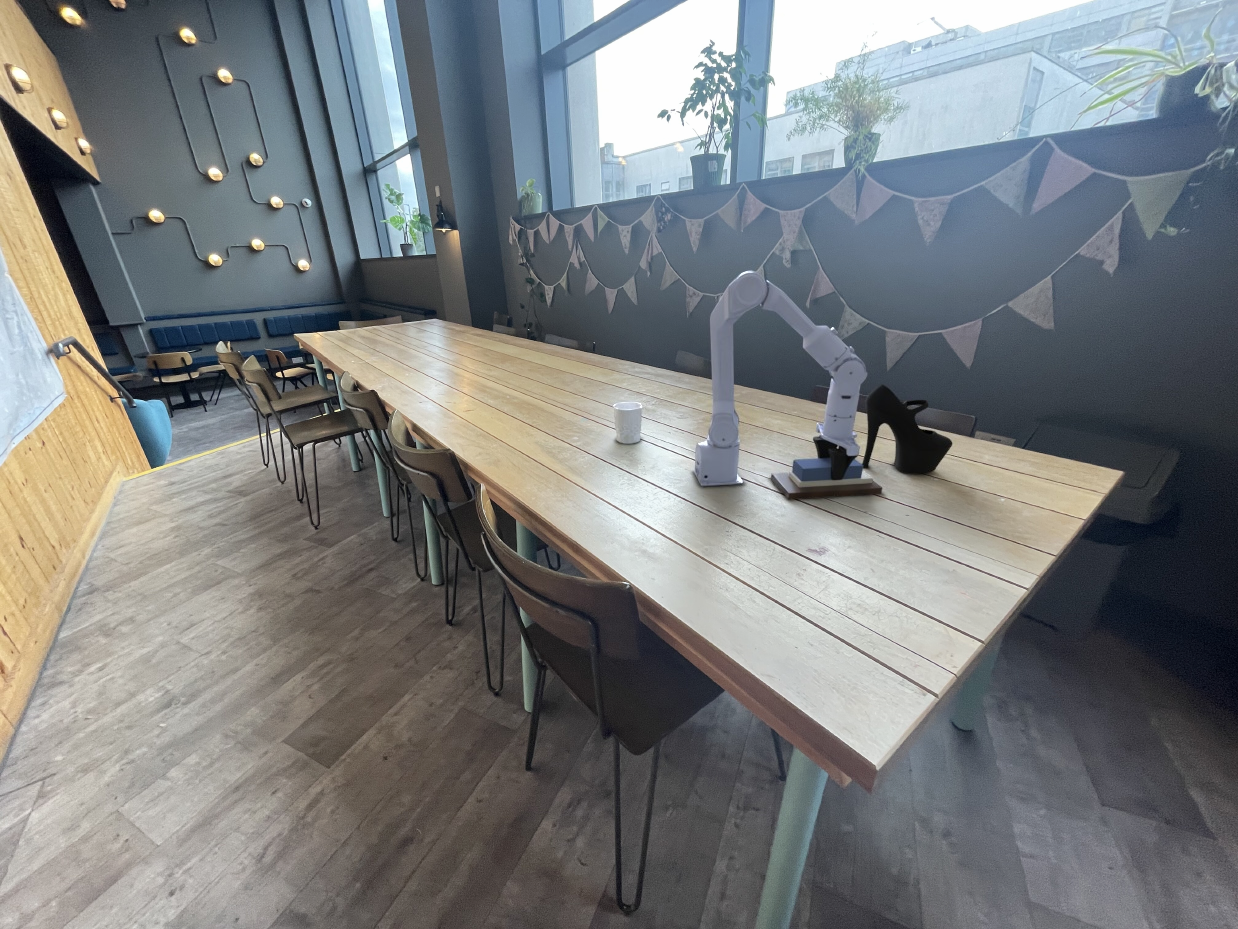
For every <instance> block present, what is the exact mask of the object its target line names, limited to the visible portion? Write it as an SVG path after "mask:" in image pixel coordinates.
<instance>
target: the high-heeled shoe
mask: <svg viewBox="0 0 1238 929" xmlns="http://www.w3.org/2000/svg"><path fill="white" fill-rule="evenodd" d="M910 406H917V407H915V408H908V407H910ZM928 407H929V400H926V399H914V400H908V399H907V400H905V401H901V399H899V398H898V396H897V395H896V394H895V393H894V392H893V391H892V390H891V389H890V388H889V387H888V386H887V385H885V384H884V383H881V384H880V385H878V386H876V387H875V388H874V389H873V390H872V391H870V392H869V394H868V395H867V397H866V399H865V409H866V418H867V419H866V420H867V436H866V437H867V438H866V446H865V452H864V456H863V460H862V463H861V464H862V465H863V468H866V469H867V468H869V466H870V461H871V458H872V454H873V451H874V447H875V444H876V442H877V441H876V440H877V437H878V433H879V430H880V427H881V426H883V425H884V424H886V425H887V426H888V427H889V428H890V430H891V432H892V435H893V437H894V440H895V441H894V442H895V452H894V453H895V456H894V462H893V465H894V467H895V469H896V470H898V471H899V472H901V473H904V474H910V475H927V474H931V473H932V472H935V470H936V469H937V467H938V466H939V465H940V463H941V462H942V460H943V459H944V457H946V455H947V453H948V452H949V451H950V449H951V448H952V447H953V441H952V439H951V438H949V437H947V436H945V435H942V434H940V433H938V432H936V431H935V430H931V429H925V428H924V429H923V428H920V427H919V425H918V423H917V421H916V415H917V414H919V413H921V412H923V411H924V410H926V409H928Z"/></svg>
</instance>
